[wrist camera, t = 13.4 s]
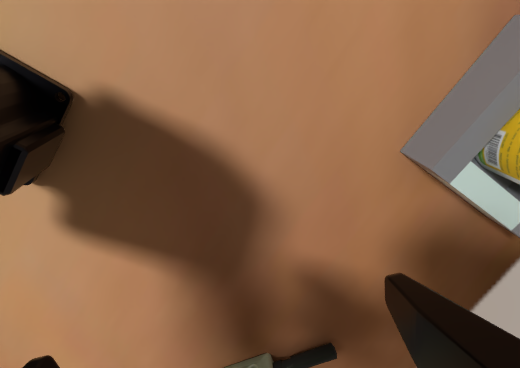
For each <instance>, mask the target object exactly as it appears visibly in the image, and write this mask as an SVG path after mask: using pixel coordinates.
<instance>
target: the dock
mask: <svg viewBox="0 0 520 368" xmlns="http://www.w3.org/2000/svg"><path fill="white" fill-rule="evenodd" d="M519 109H520V15H514V16H513V18H512V19H511V20H510V21H509V22H508V24H507V25H506V26H505V27H504V28H503V29H502V31H501V32H500V33H499V34H498V35H497V37H496V38H495V39H494V40H493V41H492V43H491V44H490V45H489V46H488V47H487V48H486V50H485V51H484V52H483V53H482V54H481V56H480V57H479V58H478V59H477V60H476V61H475V63H474V64H473V65H472V66H471V67H470V69H469V70H468V71H467V72H466V73H465V75H464V76H463V77H462V78H461V79H460V80H459V82H458V83H457V84H456V85H455V86H454V88H453V89H452V90H451V91H450V92H449V93H448V95H447V96H446V97H445V98H444V99H443V101H442V102H441V103H440V104H439V105H438V107H437V108H436V109H435V110H434V111H433V112H432V114H431V115H430V116H429V117H428V118H427V120H426V121H425V122H424V123H423V124H422V126H421V127H420V128H419V129H418V130H417V131H416V133H415V134H414V135H413V136H412V137H411V139H410V140H409V141H408V142H407V143H406V144H405V146H404V147H403V148H402V149H401V150H400V152H401V153H403V154H404V155H405V156H407V157H408V158H409V159H411V160H412V161H413V162H415V163H416V164H417V165H419V166H420V167H421V168H423V169H424V170H425V171H427V172H428V173H429V174H431V175H432V176H433V177H435V178H436V179H437V180H439V181H440V182H441V183H443V184H444V185H445V186H447V187H448V188H449V189H451V190H452V191H453V192H455V193H456V194H457V195H459V196H460V197H461V198H463V199H464V200H465V201H467V202H468V203H469V204H471V205H472V206H473V207H474V208H476V209H477V210H478V211H480V212H481V213H482V214H484V215H485V216H487V217H488V218H490V219H491V220H493V221H494V222H496V223H497V224H499V225H501V226H502V227H504V228H505V229H507V230H508V231H510V232H511V233H513V234H515V235H516V236H518V237H519V238H520V185H519V184H517V183H515V182H513V181H511V180H508V179H506V178H504V177H502V176H500V175H498V174H496V173H494V172H491V171H489V170H488V169H486V168H484V167H483V166H481V165H480V164H479V163H478V161H477V160H476V158H475V156H476V155H477V154H478V153H479V152H480V151H481V150H482V149H483V147H484V146H485V145H486V144H487V143H488V142H489V141H490V140H491V139H492V138H493V137H494V136H495V135H496V133H497V132H498V131H499V130H500V129H501V128H502V127H503V126H504V125H505V124H506V123H507V122H508V121H509V120H510V118H511V117H512V116H513V115H514V114H515V113H516V112H517V111H518V110H519Z"/></svg>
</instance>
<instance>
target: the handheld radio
mask: <svg viewBox="0 0 520 368" xmlns="http://www.w3.org/2000/svg"><path fill="white" fill-rule="evenodd" d="M334 359H337V353H336V350H335V347H334V346H333V344H332V343H329V344H326V345H323V346H320V347H317V348H314V349H311V350H308V351H305V352H302V353H299V354H296V355H294V356H291V357H290V359H287V360H284V361H281V360H279V361H276V362H273V359H272V357H271V355H270V354H269V353H266V354H262V355H260V356H257V357H254V358H251V359H248V360H245V361H242V362H239V363H236V364H233V365H230V366H227V367H224V368H309V367H312V366H315V365H318V364H321V363H324V362H328V361H331V360H334Z"/></svg>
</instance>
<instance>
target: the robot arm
mask: <svg viewBox="0 0 520 368" xmlns="http://www.w3.org/2000/svg"><path fill="white" fill-rule="evenodd" d="M59 92H60V93H62V94H64V96H65V100H64V101H63V100H61V99H60V98H59V96H58V93H59ZM72 101H73V95H72V93H71V91H70V90H68V89H67V88H66V87H64V86H62V85H60V84H58V83H57V82H55V81H53V80H51V79H50V78H48V77H46V76H44V75H42V74H41V73H39V72H37V71H35V70H34V69H32V68H30V67H28V66H26V65H25V64H23V63H21V62H19V61H18V60H16V59H14V58H12V57H10V56H9V55H7V54H5V53H3V52H2V51H0V195H2V196H5V195H9V194H12V193H13V192H14V191H16V190H17V189H18V188H20V187H21V186H22V185H29V184H31V183H33V182H34V181H35V180H36V179H37V176H38V174H39V173H40V172H42V171H43V170H44V169H46V168H47V167H48V166H49V165H50V163H51V161H52V159H53V157H54V155H55V153H56V151H57V149H58V146H59V144H60V142H61V140H62V138H63V136H64V134H65V130H64V127H62V126H61V125H62V123H63V121H64V118H65V116H66V114H67V112H68V110H69V108H70V106H71V103H72ZM385 301H386V304H387V307H388V309H389V311H390V313H391V315H392V317H393V320H394V322H395V324H396V326H397V328H398V330H399V332H400V334H401V336H402V338H403V340H404V342H405V344H406V346H407V349H408V351H409V353H410V355H411V357H412V359H413V361H414V363H415V364H416V366H417V368H520V339H519V338H517V337H515V336H513V335H512V334H510V333H508V332H506V331H504V330H503V329H501V328H499V327H497V326H495V325H494V324H492V323H490V322H488V321H486V320H485V319H483V318H481V317H479V316H478V315H476V314H474V313H472V312H470V311H469V310H467V309H465V308H463V307H461V306H460V305H458V304H456V303H454V302H452V301H451V300H449V299H447V298H445V297H443V296H442V295H440V294H438V293H436V292H435V291H433V290H431V289H429V288H427V287H426V286H424V285H422V284H420V283H418V282H417V281H415V280H413V279H411V278H409V277H408V276H406V275H404V274H402V273H396V274H392V275H388V276H386V277H385ZM22 368H60V367H59V366H58V364H57V363H56V362H55V360H54V359H53V358H52V357H51V356H49V355H46V356H42V357H38V358H34V359H32V360H30V361H29V362H28V363H27V364H26V365H25V366H24V367H22Z"/></svg>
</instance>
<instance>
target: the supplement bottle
mask: <svg viewBox="0 0 520 368" xmlns="http://www.w3.org/2000/svg"><path fill="white" fill-rule="evenodd" d="M475 158H476V160H477V161H478V163H479V164H480V165H481V166H483V167H484V168H486V169H488V170H489V171H491V172H494V173H496V174H498V175H500V176H502V177H504V178H506V179H508V180H511V181H513V182H515V183H517V184H519V185H520V109H519V110H518V111H517V112H516V113H515V114H514V115H513V116H512V117H511V118H510V120H509V121H508V122H507V123H506V124H505V125H504V126H503V127H502V128H501V129H500V130H499V131H498V132H497V133H496V135H495V136H494V137H493V138H492V139H491V140H490V141H489V142H488V143H487V144H486V145H485V146H484V147H483V149H482V150H481V151H480V152H479V153H478V154H477V155H476V156H475Z"/></svg>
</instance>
